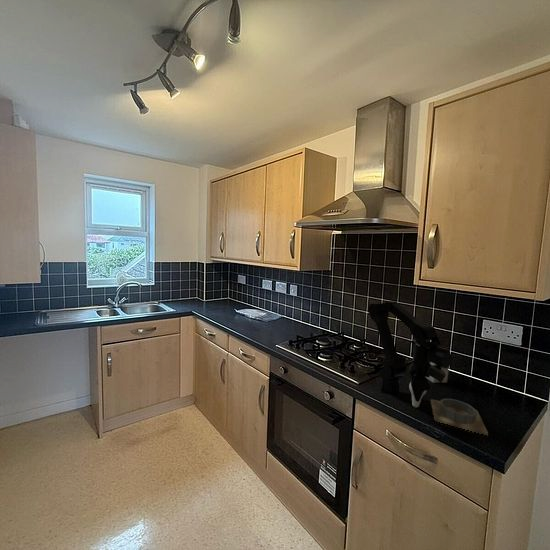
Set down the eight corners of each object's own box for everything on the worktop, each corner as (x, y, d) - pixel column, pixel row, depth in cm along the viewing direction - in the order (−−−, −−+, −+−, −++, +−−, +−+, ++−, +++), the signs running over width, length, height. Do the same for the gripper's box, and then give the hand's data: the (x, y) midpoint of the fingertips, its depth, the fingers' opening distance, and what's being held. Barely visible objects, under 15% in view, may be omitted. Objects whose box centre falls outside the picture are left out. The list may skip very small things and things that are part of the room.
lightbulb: (424, 413, 113) (427, 385, 112) (406, 408, 115) (410, 381, 114) (423, 405, 118) (427, 379, 117) (407, 401, 121) (410, 375, 120)
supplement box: (433, 383, 140) (436, 357, 139) (423, 376, 147) (426, 351, 146) (447, 383, 141) (450, 357, 140) (436, 376, 148) (439, 351, 147)
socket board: (434, 422, 107) (436, 411, 107) (430, 401, 122) (431, 392, 121) (487, 436, 101) (489, 424, 101) (476, 412, 116) (478, 402, 115)
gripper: (449, 371, 103) (443, 413, 105) (442, 354, 120) (437, 391, 122) (413, 364, 107) (408, 405, 109) (412, 348, 124) (407, 384, 126)
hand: (416, 396), depth 116 cm, fingers open, 9 cm apart
